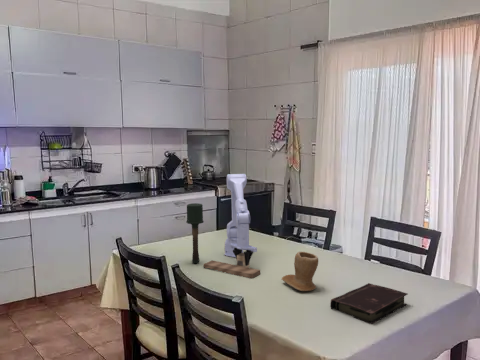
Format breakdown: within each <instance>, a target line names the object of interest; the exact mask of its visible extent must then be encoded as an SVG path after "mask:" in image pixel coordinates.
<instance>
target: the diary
mask: <svg viewBox="0 0 480 360" xmlns="http://www.w3.org/2000/svg"><path fill="white" fill-rule="evenodd" d="M408 295H409V293H406V292H404V291H400V290H396V289H393V288H390V287H385V286H382V285H378V284H373V283H369V282H368V283H366V284H364V285H362V286H360V287H357V288H355V289H352V290H350V291H348V292H346V293H343V294H341V295H339V296H336V297H333V298H332V299H331V298H330V303H329V304H330V306H329V307H330V310H333V309H336V310H335V311H339V312H341V313H344V314H347V315H349V316H352V318H354V319H356V320H359V321H361V322H364V323H366V324H369V325H370V324H372V325H373V324H375V323H377V322H380V321H381V320H382V319H384V318H387V317H388V316H390V315H391V314H394V313H395V312H396V311H397V310H399V309H403V308H405V307H406V306H408V303H405V297H406V296H408Z"/></svg>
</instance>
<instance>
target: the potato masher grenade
mask: <svg viewBox="0 0 480 360" xmlns="http://www.w3.org/2000/svg"><path fill="white" fill-rule="evenodd" d="M203 206H204V205H203V203H197V202H196V203H188V204H187V205H186V224H189V225H191V235H192V257H191V258H192V259H191V262H192V264H193V263H198V264H199V263H200V261H201V260H200V255H199V253H200V252H199V225H200V224H203V223H204V222H205V221H204V215H203V214H204V213H203V211H204V210H203Z"/></svg>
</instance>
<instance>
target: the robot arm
mask: <svg viewBox="0 0 480 360" xmlns="http://www.w3.org/2000/svg"><path fill="white" fill-rule="evenodd" d="M247 182H248V179H247V175H246V173H230V174H229V173H228V174H227V175H226V188H227V190H229V191H230V196H231V220H230V221H229V222H228V223H227V225H226V237H227V238H226V239H225V242H224V254H223V256H225V255H226V256H225V257H230V258H231V257H232V258H235V259H236V260H237V255H238V254H241V253H244V255H245V265H246V266H247V265H249V266H250V261H251V258H252V256H253V254H254V253H257V252H258V248H257V247H256V246H253V245H250V224H251V214H250V211H249V210H248V204H247V200H246V199H244V189H245V188H246V185H247Z"/></svg>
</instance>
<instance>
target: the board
mask: <svg viewBox="0 0 480 360" xmlns="http://www.w3.org/2000/svg"><path fill="white" fill-rule="evenodd" d="M202 265H203V266H202V267H205V268H204V269H206V268H210V269H214V270H213V271H215V270H218V271H217V272H219V271H222V272H221V273H224V272H226V273H225V274H229V273H231V274H230V275H233V274H234V275H235V276H238V275H239V277H242V276H243V277H242V278H247V277H248V278H249V279H252V278H253V279H254V278H256V277H258V276H260V275H261V269H257V268H251V267H243V266H238V265H237V264H232V263H227V262H222V261H219V260H209V261H208V262H207V261H206V262H205V263H203V264H202ZM210 269H209V270H210ZM248 278H247V279H248Z"/></svg>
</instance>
